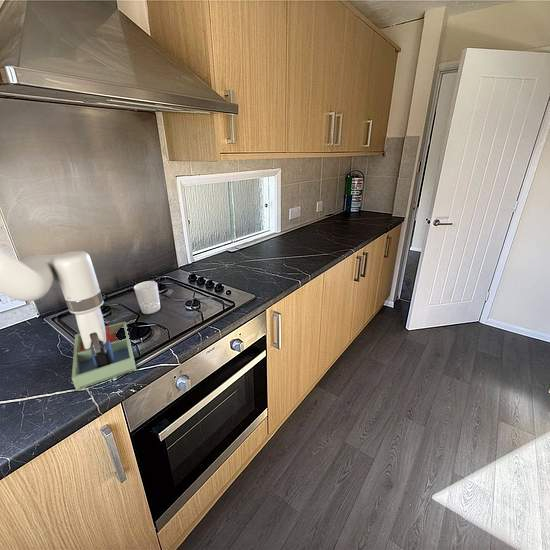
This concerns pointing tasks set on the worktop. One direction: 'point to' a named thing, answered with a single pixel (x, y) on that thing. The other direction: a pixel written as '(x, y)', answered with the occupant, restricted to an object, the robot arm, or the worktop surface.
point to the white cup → (147, 296)
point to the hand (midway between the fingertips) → (104, 359)
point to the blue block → (108, 348)
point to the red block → (108, 334)
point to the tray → (89, 374)
